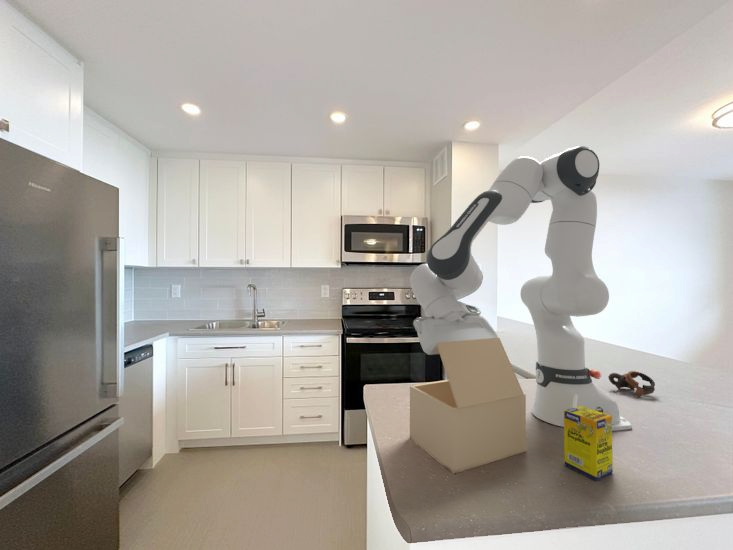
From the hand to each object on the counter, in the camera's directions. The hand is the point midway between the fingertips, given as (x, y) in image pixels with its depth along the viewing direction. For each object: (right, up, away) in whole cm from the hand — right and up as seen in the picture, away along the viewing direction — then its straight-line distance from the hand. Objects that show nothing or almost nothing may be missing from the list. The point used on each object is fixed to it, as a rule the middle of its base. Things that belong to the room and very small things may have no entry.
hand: (475, 365), depth 67 cm
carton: (-1, -18, +2) cm, 18 cm away
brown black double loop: (+67, -21, +38) cm, 80 cm away
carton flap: (+1, 0, -1) cm, 1 cm away
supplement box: (+20, -18, -7) cm, 28 cm away
